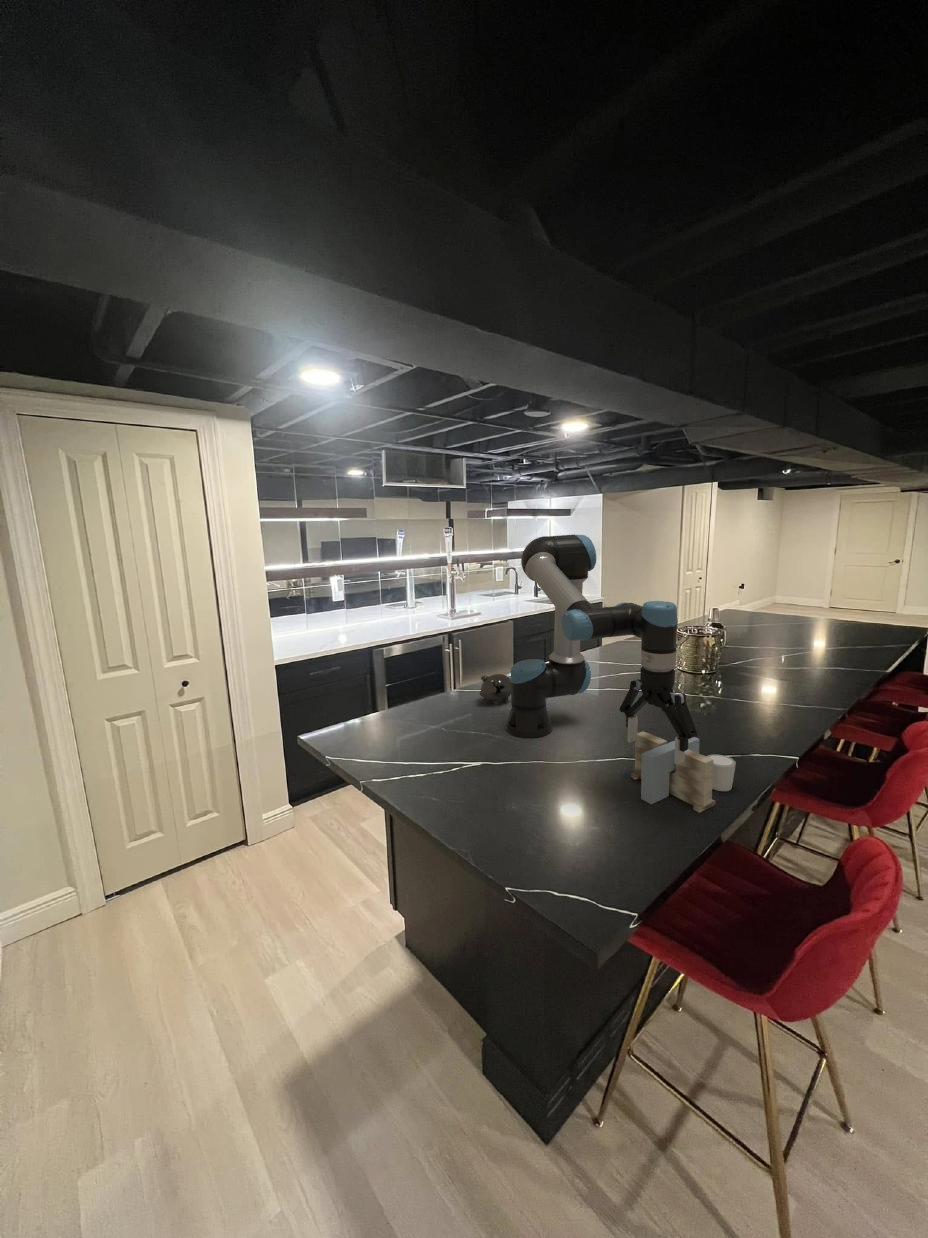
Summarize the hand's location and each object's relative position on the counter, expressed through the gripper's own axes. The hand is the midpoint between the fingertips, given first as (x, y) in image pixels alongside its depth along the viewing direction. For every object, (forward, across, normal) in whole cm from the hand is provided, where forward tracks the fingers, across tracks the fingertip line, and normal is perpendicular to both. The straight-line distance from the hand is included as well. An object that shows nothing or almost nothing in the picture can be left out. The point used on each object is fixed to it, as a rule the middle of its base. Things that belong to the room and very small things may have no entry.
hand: (654, 751), depth 117 cm
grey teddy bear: (+14, -79, +6) cm, 81 cm away
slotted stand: (+12, +1, +6) cm, 13 cm away
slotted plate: (+12, +1, +6) cm, 13 cm away
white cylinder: (+12, +6, +18) cm, 22 cm away
